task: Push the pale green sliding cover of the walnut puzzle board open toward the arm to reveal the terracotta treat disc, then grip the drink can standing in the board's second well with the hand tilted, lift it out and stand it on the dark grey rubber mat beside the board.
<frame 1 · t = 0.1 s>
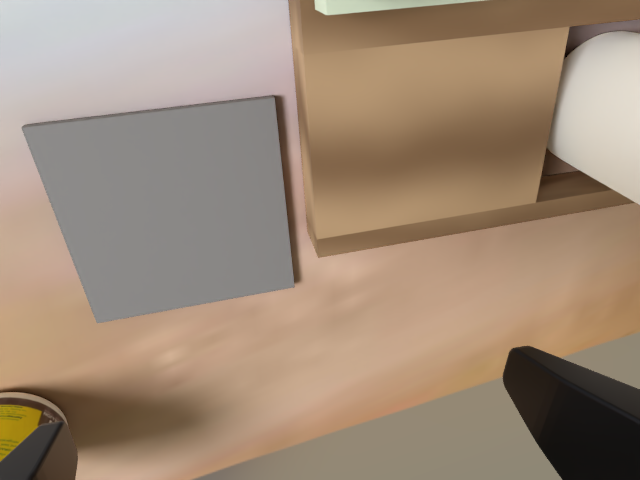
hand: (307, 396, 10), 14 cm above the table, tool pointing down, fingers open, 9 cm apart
mat: (178, 215, 23), on the table
can: (589, 96, 25), resting in puzzle board
supplement bottle 2: (17, 419, 27), on the table
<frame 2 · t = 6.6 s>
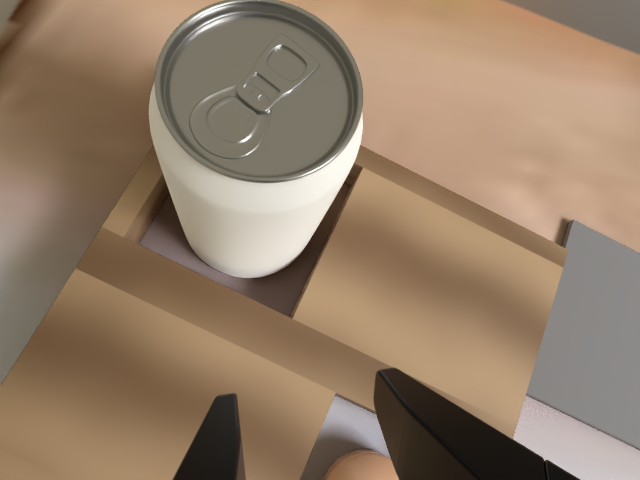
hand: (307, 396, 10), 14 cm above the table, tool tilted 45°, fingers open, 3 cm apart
mat: (626, 342, 26), on the table
can: (248, 217, 25), resting in puzzle board
puzzle board: (268, 413, 22), on the table
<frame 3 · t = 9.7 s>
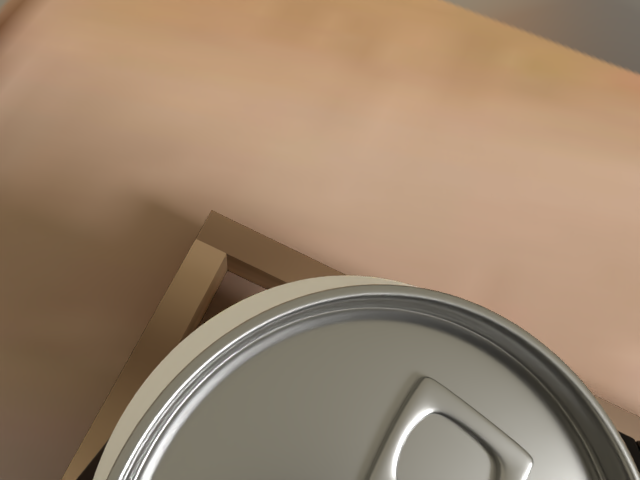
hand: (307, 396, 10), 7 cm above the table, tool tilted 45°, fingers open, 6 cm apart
can: (281, 432, 16), resting in puzzle board, touching gripper
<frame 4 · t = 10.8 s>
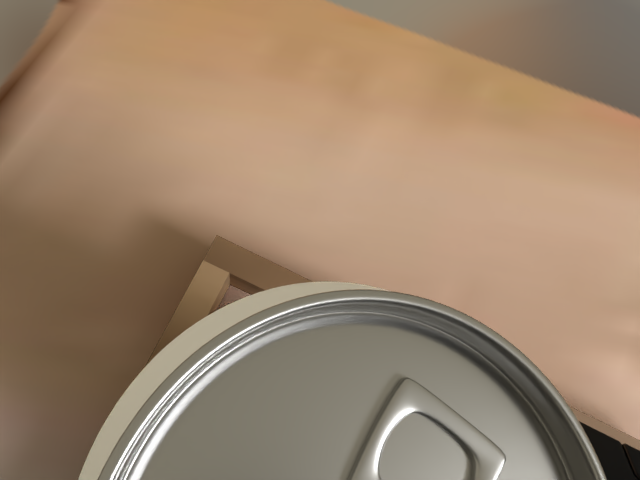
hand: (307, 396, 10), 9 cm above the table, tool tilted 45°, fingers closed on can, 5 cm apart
can: (255, 439, 16), point 2 cm above the table, touching gripper
when the fingers open (8 cm above the table, at t = 14.0 s): can stays where it is, resting on mat.
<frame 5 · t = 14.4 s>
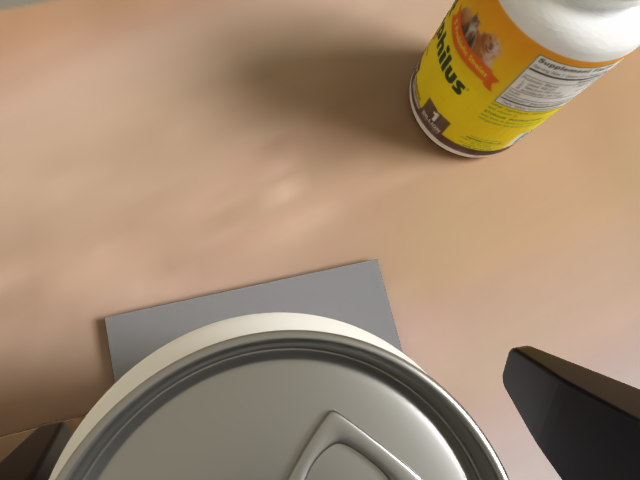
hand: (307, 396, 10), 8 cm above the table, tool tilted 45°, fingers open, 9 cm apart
mat: (278, 426, 17), on the table
can: (250, 441, 17), resting on mat
supplement bottle 2: (461, 108, 22), on the table
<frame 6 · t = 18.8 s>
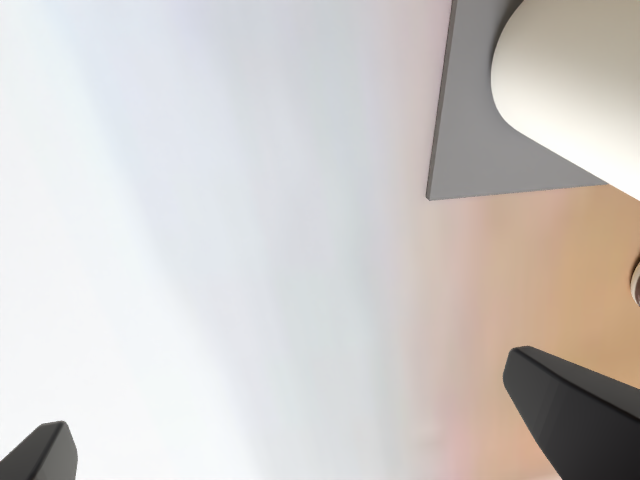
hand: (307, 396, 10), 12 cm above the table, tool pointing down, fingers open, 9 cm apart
mat: (549, 81, 21), on the table
can: (555, 55, 20), resting on mat
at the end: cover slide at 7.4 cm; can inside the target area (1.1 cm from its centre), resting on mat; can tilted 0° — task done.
